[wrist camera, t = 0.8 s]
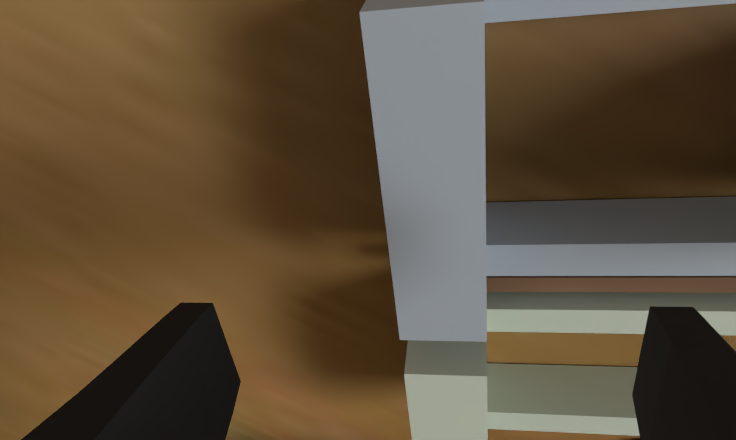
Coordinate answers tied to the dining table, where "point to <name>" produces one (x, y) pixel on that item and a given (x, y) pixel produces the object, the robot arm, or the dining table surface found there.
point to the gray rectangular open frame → (468, 176)
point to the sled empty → (540, 367)
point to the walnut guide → (612, 284)
